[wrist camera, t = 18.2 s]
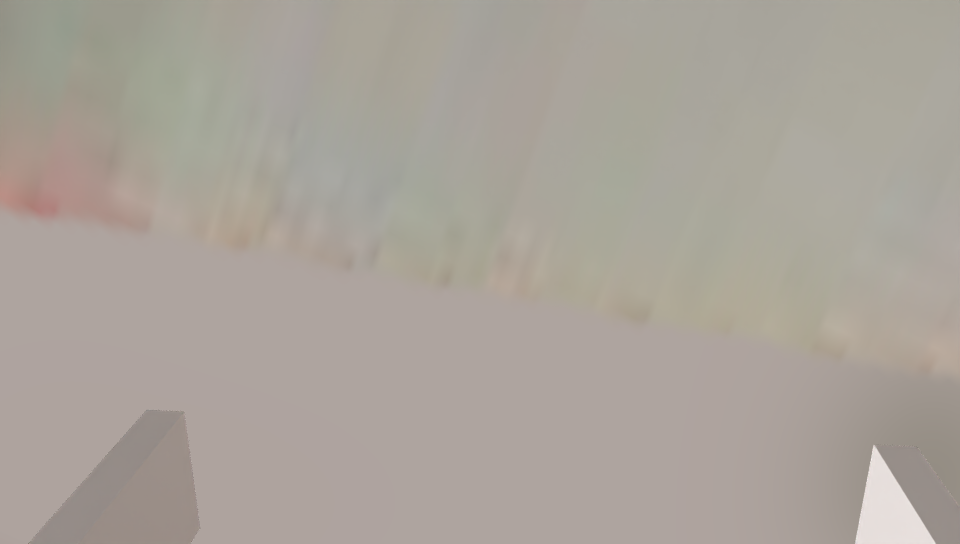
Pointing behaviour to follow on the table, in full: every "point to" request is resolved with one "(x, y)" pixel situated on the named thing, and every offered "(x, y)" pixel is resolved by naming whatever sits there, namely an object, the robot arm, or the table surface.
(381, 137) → the table surface
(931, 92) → the table surface
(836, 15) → the table surface
